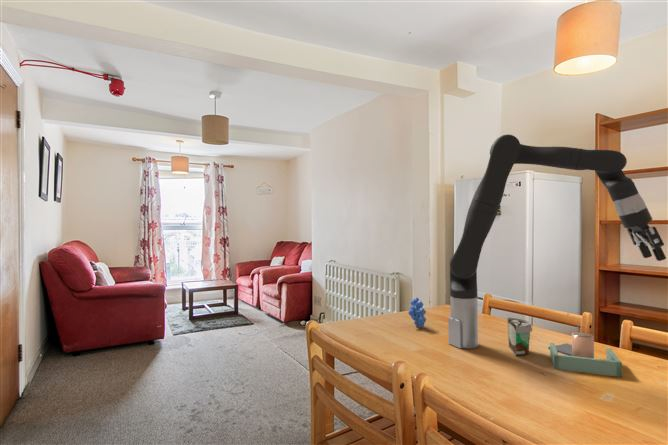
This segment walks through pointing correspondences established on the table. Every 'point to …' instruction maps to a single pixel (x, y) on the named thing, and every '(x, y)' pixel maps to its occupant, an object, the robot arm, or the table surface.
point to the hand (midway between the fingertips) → (654, 258)
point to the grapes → (417, 312)
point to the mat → (564, 349)
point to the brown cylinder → (582, 345)
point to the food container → (519, 336)
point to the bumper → (587, 363)
